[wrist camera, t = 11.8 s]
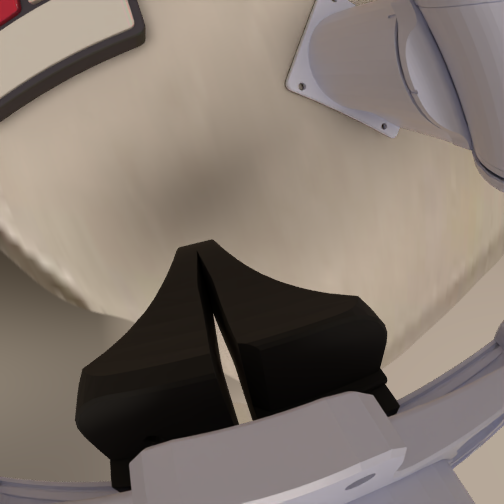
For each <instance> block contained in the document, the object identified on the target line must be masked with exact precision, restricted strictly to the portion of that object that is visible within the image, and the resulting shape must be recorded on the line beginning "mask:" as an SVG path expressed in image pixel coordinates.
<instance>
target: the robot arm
mask: <svg viewBox="0 0 504 504" xmlns="http://www.w3.org/2000/svg"><path fill="white" fill-rule="evenodd" d="M300 83H302V84H303V89H302V90H300V89H299V88H298V85H299V84H300ZM286 87H287V89H288V90H290V91H292V92H295V93H297V94H300V95H302V96H304V97H307V98H309V99H312V100H314V101H316V102H319V103H321V104H323V105H325V106H328V107H330V108H332V109H334V110H336V111H338V112H341V113H343V114H345V115H347V116H349V117H351V118H353V119H355V120H357V121H359V122H361V123H363V124H365V125H367V126H369V127H371V128H373V129H375V130H377V131H378V132H380V133H382V134H384V135H386V136H388V137H390V138H395V137H396V136H397V134H398V131H399V128H404V129H408V130H412V131H415V132H419V133H422V134H426V135H429V136H432V137H436V138H439V139H442V140H445V141H448V142H452V143H453V144H454V145H457V146H460V147H463V148H466V149H469V150H472V154H473V158H474V162H475V165H476V167H477V169H478V171H479V173H480V174H481V176H482V177H483V178H484V179H485V180H486V181H487V182H488V183H489V184H490V185H492V186H493V187H495V188H496V189H498V190H499V191H502V192H504V0H375V1H371V2H367V3H364V4H361V5H357V6H356V5H355V4H353V3H351V2H350V1H348V0H335V2H333V1H332V0H316V1H315V4H314V6H313V9H312V12H311V14H310V17H309V19H308V22H307V25H306V27H305V30H304V33H303V36H302V38H301V41H300V44H299V46H298V49H297V52H296V54H295V57H294V60H293V63H292V65H291V68H290V71H289V74H288V77H287V79H286ZM382 124H383V125H384V127H383V129H382V127H381V126H382ZM213 314H214V316H215V319H216V321H217V324H218V326H219V329H220V331H221V333H222V336H223V338H224V341H225V343H226V345H227V348H228V350H229V352H230V355H231V357H232V360H233V362H234V365H235V368H236V371H237V374H238V377H239V380H240V383H241V386H242V389H243V392H244V396H245V399H246V402H247V405H248V408H249V411H250V414H251V417H252V420H253V421H251V422H247V423H244V424H240V425H239V423H238V420H237V416H236V413H235V410H234V407H233V404H232V400H231V397H230V394H229V390H228V387H227V383H226V380H225V377H224V373H223V369H222V365H221V360H220V354H219V348H218V342H217V335H216V329H215V323H214V316H213ZM386 342H387V330H386V327H385V324H384V323H383V322H382V321H381V320H380V319H379V317H378V316H377V315H376V314H375V313H374V311H373V310H372V309H371V308H370V307H369V306H368V305H367V304H366V303H365V302H364V301H363V300H361V299H360V298H359V297H358V296H350V295H340V294H329V293H323V292H318V291H312V290H308V289H303V288H299V287H296V286H292V285H289V284H286V283H283V282H280V281H277V280H275V279H272V278H270V277H268V276H265V275H263V274H261V273H259V272H257V271H255V270H253V269H251V268H250V267H248V266H246V265H245V264H243V263H242V262H240V261H239V260H237V259H236V258H235V257H233V256H232V255H231V254H229V253H228V252H227V251H225V250H224V249H223V248H222V247H221V246H220V245H219V244H218V243H217V242H215V241H214V240H208V241H204V242H200V243H196V244H192V245H188V246H184V247H180V248H178V249H177V251H176V254H175V257H174V260H173V262H172V265H171V267H170V269H169V272H168V274H167V276H166V278H165V280H164V282H163V284H162V286H161V288H160V289H159V291H158V293H157V295H156V297H155V298H154V300H153V301H152V303H151V304H150V306H149V307H148V308H147V310H146V311H145V312H144V314H143V315H142V316H141V317H140V318H139V319H138V321H137V322H136V323H135V324H134V325H133V326H132V327H131V329H130V330H129V331H128V332H127V333H126V334H125V335H124V336H123V337H122V338H121V339H120V340H118V341H117V342H116V343H115V344H114V345H113V346H112V347H111V348H109V349H108V350H107V351H106V352H105V353H104V354H102V355H101V356H99V357H98V358H97V359H95V360H94V361H93V362H91V363H90V364H89V365H87V366H86V367H84V368H83V369H82V374H81V378H80V382H79V388H78V395H77V404H76V405H77V406H76V415H75V421H76V425H77V428H78V429H79V431H80V432H81V433H82V434H83V435H84V437H86V439H88V440H89V441H90V442H91V443H92V444H93V445H94V446H95V447H96V448H97V449H99V450H100V451H101V452H102V453H103V454H104V455H105V456H107V457H108V458H109V459H110V465H111V481H99V482H57V481H38V480H25V479H16V478H8V477H1V476H0V504H475V503H474V501H473V500H472V498H471V496H470V495H469V493H468V492H467V490H466V489H465V487H464V486H463V484H462V483H461V481H460V480H459V478H458V477H457V475H456V474H455V472H454V471H453V468H454V467H456V466H457V465H458V464H459V463H461V462H462V461H463V460H465V459H466V458H467V457H469V456H470V455H471V454H472V453H473V452H475V451H476V450H477V449H478V448H479V447H480V446H481V445H483V444H484V443H485V442H486V441H487V440H488V439H490V438H491V437H492V436H493V435H494V434H495V433H496V432H497V431H498V430H499V429H500V428H501V427H502V426H503V425H504V320H503V322H502V323H501V324H500V326H499V328H498V330H497V332H496V334H495V337H494V340H492V341H491V342H490V343H488V344H487V345H486V346H484V347H483V348H481V349H480V350H479V351H477V352H476V353H474V354H473V355H472V356H470V357H469V358H467V359H466V360H464V361H463V362H461V363H460V364H458V365H457V366H455V367H454V368H452V369H451V370H449V371H447V372H446V373H444V374H443V375H441V376H440V377H438V378H436V379H434V380H433V381H431V382H429V383H428V384H426V385H424V386H423V387H421V388H419V389H417V390H416V391H414V392H412V393H410V394H408V395H406V396H405V397H403V398H401V399H399V400H396V399H395V398H394V396H393V395H392V393H391V392H390V391H389V389H388V388H387V386H386V385H385V384H386V383H387V377H386V376H385V374H384V373H383V371H382V370H381V369H380V366H381V362H382V358H383V354H384V350H385V346H386Z"/></svg>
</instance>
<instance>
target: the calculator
mask: <svg viewBox="0 0 504 504" xmlns="http://www.w3.org/2000/svg"><path fill="white" fill-rule="evenodd" d="M144 41H145V24H144V20H143V17H142V14H141V11H140V8H139V5H138V2H137V0H0V122H1V121H2V120H3V119H5V118H6V117H8V116H9V115H11V114H12V113H14V112H15V111H17V110H18V109H20V108H21V107H23V106H24V105H26V104H27V103H29V102H30V101H32V100H34V99H35V98H37V97H38V96H40V95H42V94H43V93H45V92H47V91H48V90H50V89H52V88H54V87H55V86H57V85H59V84H61V83H62V82H64V81H66V80H68V79H70V78H72V77H73V76H75V75H77V74H79V73H81V72H83V71H85V70H87V69H89V68H91V67H93V66H95V65H97V64H99V63H101V62H104V61H106V60H108V59H110V58H112V57H115V56H117V55H119V54H122V53H124V52H126V51H129V50H131V49H134V48H136V47H138V46H140V45H142V44H143V43H144Z"/></svg>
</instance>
